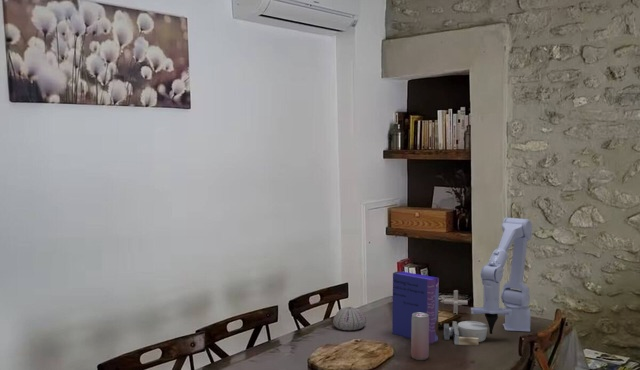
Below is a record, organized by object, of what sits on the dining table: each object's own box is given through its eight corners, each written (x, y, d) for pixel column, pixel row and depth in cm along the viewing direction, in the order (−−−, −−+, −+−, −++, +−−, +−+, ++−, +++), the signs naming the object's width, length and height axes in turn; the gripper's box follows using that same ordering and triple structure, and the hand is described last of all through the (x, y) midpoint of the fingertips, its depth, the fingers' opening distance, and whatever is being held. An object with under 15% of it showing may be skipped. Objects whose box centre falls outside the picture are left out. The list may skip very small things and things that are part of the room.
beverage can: (409, 354, 214) (409, 312, 213) (426, 354, 214) (426, 312, 213) (413, 360, 208) (413, 317, 207) (430, 360, 208) (431, 316, 207)
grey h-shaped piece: (456, 331, 240) (456, 320, 240) (458, 344, 224) (459, 332, 224) (443, 330, 241) (443, 319, 241) (444, 343, 225) (445, 332, 225)
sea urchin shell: (373, 328, 245) (373, 308, 244) (346, 334, 237) (347, 314, 236) (351, 320, 255) (351, 301, 255) (325, 326, 247) (325, 306, 247)
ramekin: (488, 335, 235) (489, 322, 234) (487, 344, 224) (487, 330, 224) (458, 332, 238) (459, 319, 238) (456, 341, 228) (456, 327, 227)
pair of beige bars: (474, 332, 239) (474, 326, 239) (478, 345, 223) (478, 339, 223) (456, 331, 240) (456, 325, 240) (458, 344, 224) (458, 337, 224)
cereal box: (437, 340, 229) (438, 277, 227) (430, 344, 225) (431, 279, 224) (399, 331, 241) (400, 270, 239) (392, 333, 237) (392, 272, 235)
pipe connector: (467, 317, 260) (468, 294, 259) (443, 316, 262) (444, 292, 261) (467, 311, 269) (467, 288, 269) (443, 309, 271) (444, 287, 271)
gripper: (472, 299, 226) (471, 335, 227) (513, 301, 224) (512, 337, 225) (470, 294, 233) (470, 329, 234) (510, 296, 231) (509, 331, 232)
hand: (490, 333), depth 230 cm, fingers closed
